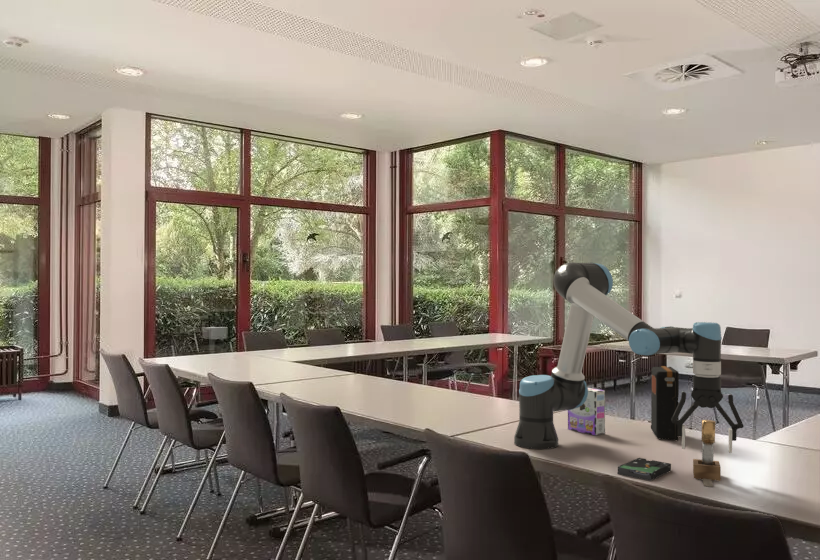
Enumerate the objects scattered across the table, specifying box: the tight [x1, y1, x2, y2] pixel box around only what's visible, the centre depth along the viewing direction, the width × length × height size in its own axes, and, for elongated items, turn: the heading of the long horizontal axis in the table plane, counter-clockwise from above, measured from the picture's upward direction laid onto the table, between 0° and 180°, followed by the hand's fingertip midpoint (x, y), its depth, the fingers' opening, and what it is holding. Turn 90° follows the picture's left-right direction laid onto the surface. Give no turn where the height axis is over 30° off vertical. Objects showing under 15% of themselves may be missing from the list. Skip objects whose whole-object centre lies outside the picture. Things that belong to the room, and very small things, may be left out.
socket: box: [692, 458, 722, 482], centre depth 199 cm, size 7×7×4 cm
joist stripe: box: [702, 478, 714, 488], centre depth 199 cm, size 2×21×1 cm, turn 159°
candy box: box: [567, 387, 606, 436], centre depth 259 cm, size 14×6×16 cm, turn 34°
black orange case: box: [650, 365, 680, 441], centre depth 252 cm, size 16×9×25 cm, turn 168°
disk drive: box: [617, 457, 672, 482], centre depth 204 cm, size 10×3×15 cm
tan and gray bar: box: [700, 419, 716, 465], centre depth 199 cm, size 4×4×16 cm
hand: (706, 449), depth 199 cm, fingers open, 12 cm apart
